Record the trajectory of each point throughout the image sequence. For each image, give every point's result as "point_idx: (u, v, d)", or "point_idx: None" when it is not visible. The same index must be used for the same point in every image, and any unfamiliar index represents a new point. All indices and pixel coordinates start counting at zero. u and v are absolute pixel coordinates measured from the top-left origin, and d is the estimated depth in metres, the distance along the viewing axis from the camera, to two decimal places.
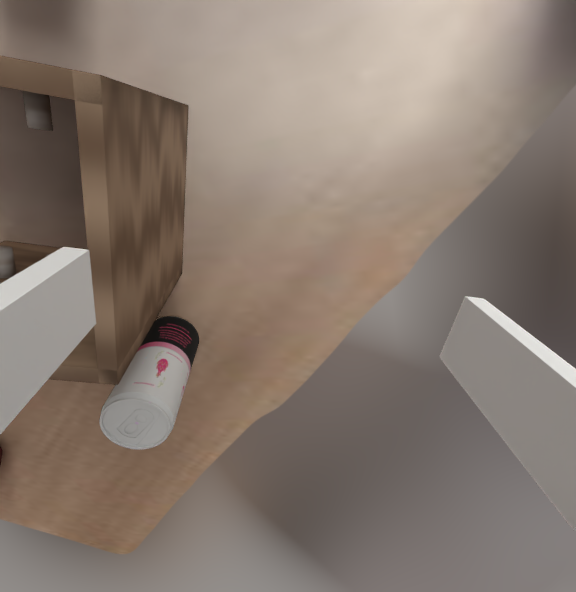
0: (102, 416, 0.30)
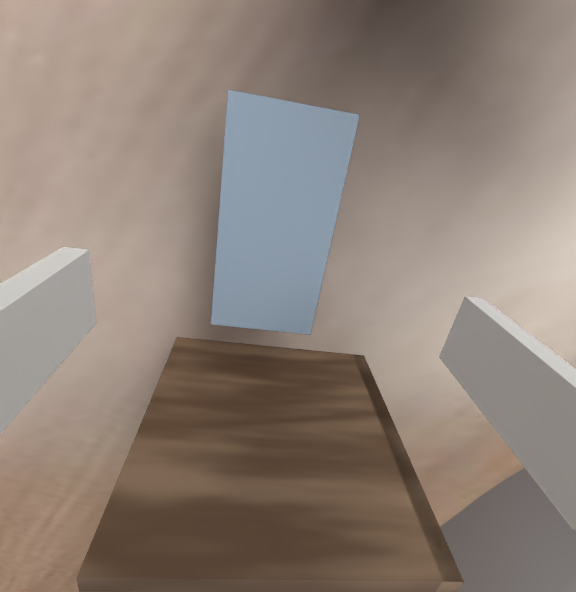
0: None
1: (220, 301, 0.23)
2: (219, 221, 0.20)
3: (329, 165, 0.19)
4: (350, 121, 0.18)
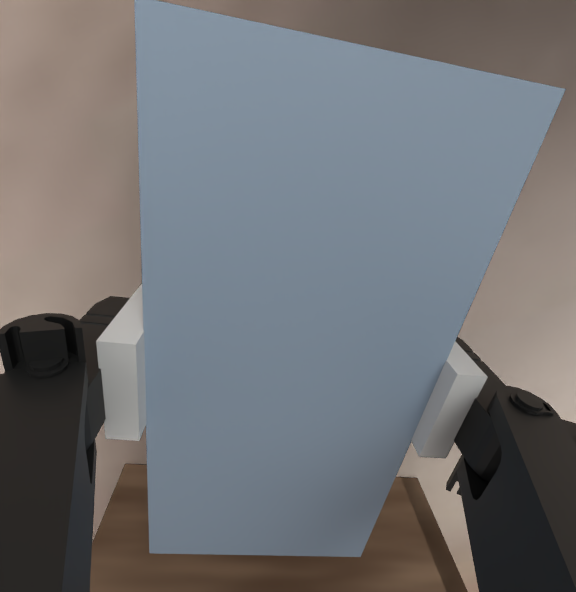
0: None
1: (165, 519, 0.10)
2: (147, 374, 0.08)
3: (448, 235, 0.07)
4: (532, 109, 0.06)
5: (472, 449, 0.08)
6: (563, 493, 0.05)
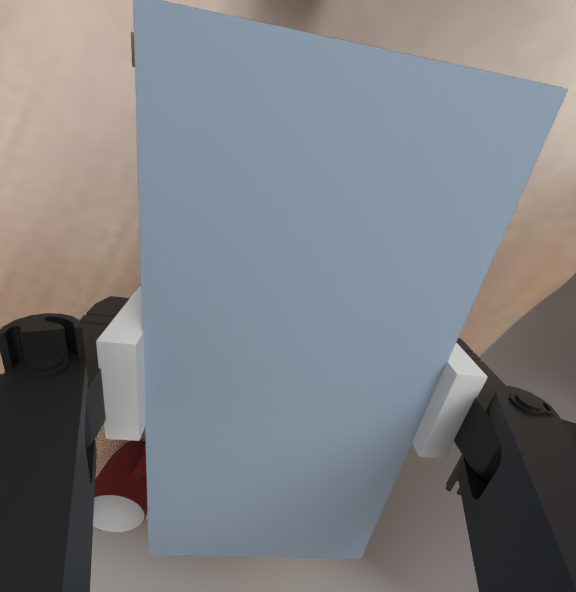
0: None
1: (165, 520, 0.10)
2: (146, 376, 0.08)
3: (449, 236, 0.07)
4: (534, 109, 0.06)
5: (472, 449, 0.08)
6: (563, 493, 0.05)
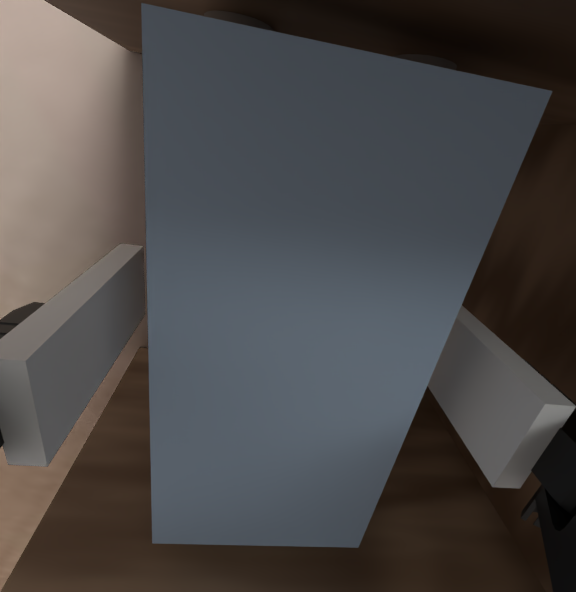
0: None
1: (168, 509, 0.10)
2: (151, 366, 0.08)
3: (441, 231, 0.07)
4: (521, 110, 0.06)
5: (555, 478, 0.08)
6: None
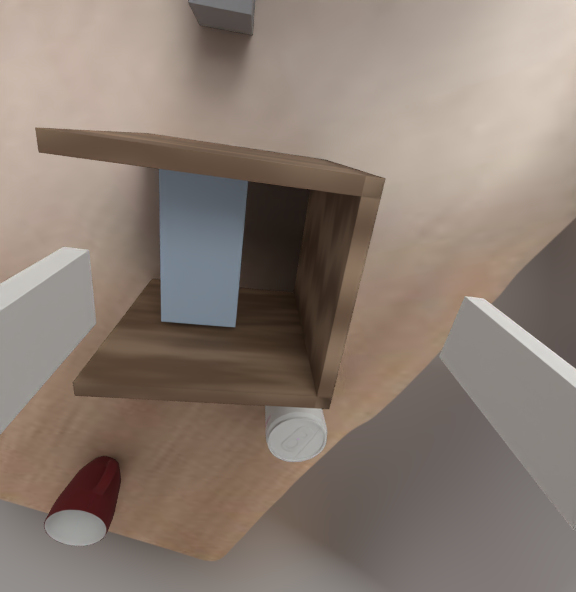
0: (271, 434, 0.35)
1: (166, 305, 0.32)
2: (160, 249, 0.29)
3: (232, 210, 0.29)
4: (242, 182, 0.28)
5: None
6: None
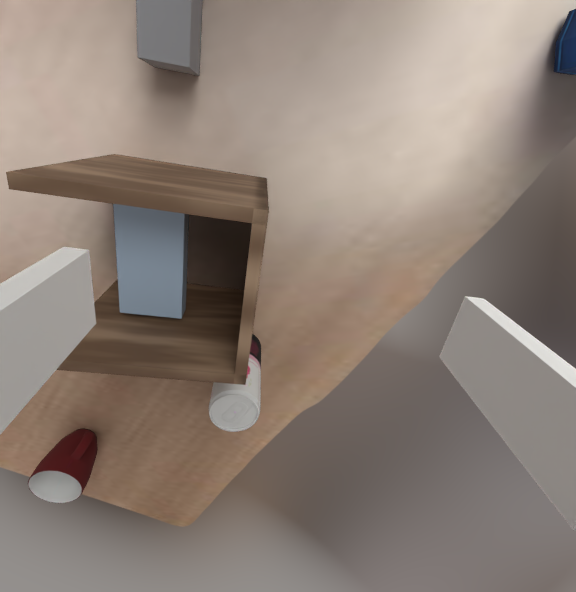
0: (212, 407, 0.42)
1: (123, 299, 0.39)
2: (116, 254, 0.37)
3: (173, 224, 0.36)
4: None
5: None
6: None
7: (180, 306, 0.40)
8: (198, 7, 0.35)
